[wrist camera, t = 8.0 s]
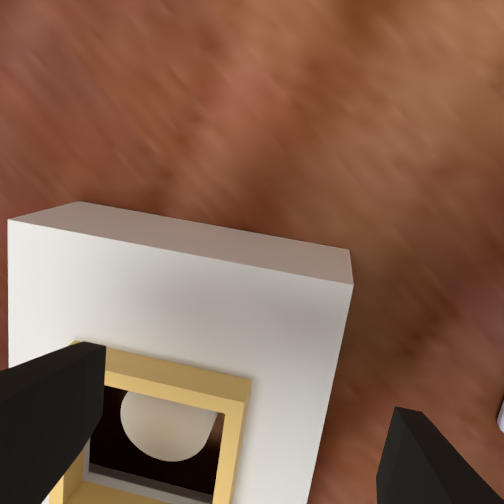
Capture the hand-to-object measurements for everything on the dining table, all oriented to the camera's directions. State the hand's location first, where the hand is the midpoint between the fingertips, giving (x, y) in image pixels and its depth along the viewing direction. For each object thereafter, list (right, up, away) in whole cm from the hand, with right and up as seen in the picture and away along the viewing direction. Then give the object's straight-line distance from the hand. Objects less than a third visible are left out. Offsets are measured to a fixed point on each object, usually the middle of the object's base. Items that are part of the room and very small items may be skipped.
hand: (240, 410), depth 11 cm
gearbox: (-4, -2, +12) cm, 13 cm away
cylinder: (-3, -2, +12) cm, 13 cm away
